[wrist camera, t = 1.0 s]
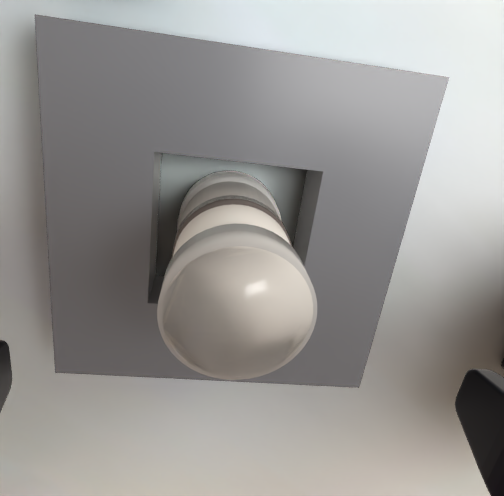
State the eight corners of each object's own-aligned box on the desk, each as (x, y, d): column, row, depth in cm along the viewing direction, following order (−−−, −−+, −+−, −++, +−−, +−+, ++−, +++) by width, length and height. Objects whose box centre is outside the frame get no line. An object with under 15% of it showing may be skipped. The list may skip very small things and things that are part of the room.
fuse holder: (417, 76, 15) (449, 77, 13) (344, 354, 19) (359, 387, 17) (61, 22, 13) (34, 14, 11) (73, 338, 18) (55, 372, 16)
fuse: (284, 176, 16) (331, 250, 10) (269, 266, 17) (301, 383, 11) (183, 165, 15) (161, 234, 9) (176, 258, 17) (153, 375, 11)
